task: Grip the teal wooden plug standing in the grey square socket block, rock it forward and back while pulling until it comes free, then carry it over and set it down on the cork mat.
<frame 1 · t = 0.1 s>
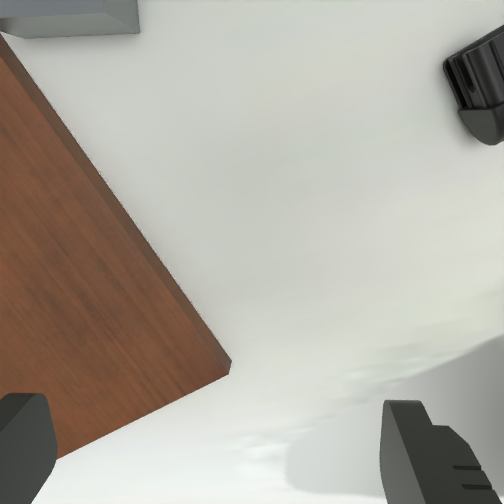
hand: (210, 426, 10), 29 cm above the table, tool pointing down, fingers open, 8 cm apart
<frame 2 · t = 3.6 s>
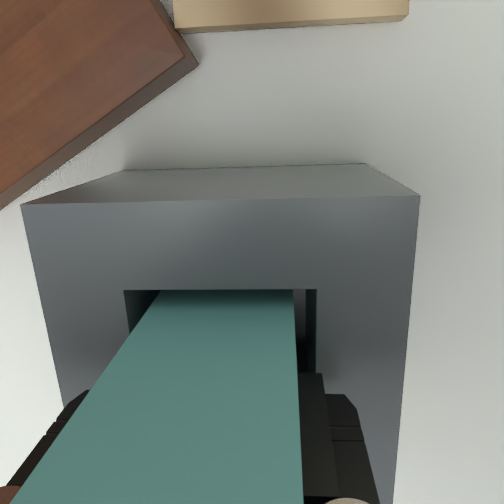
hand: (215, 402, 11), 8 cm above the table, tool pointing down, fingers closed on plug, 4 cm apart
plug: (243, 289, 17), point 1 cm above the table, touching gripper, grey square socket block
grey square socket block: (245, 280, 18), on the table
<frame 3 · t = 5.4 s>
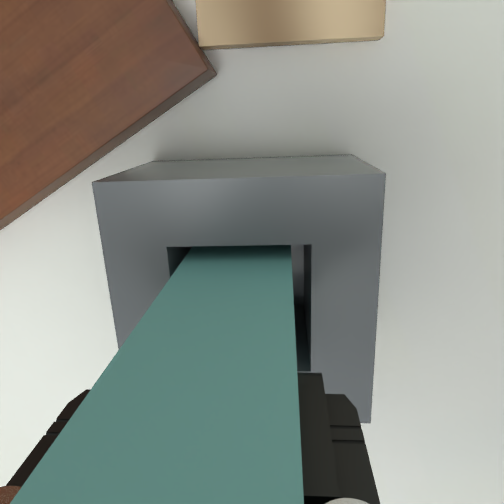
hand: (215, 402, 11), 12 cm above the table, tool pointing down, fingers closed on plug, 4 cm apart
plug: (243, 289, 17), point 5 cm above the table, touching gripper
grey square socket block: (254, 253, 22), on the table
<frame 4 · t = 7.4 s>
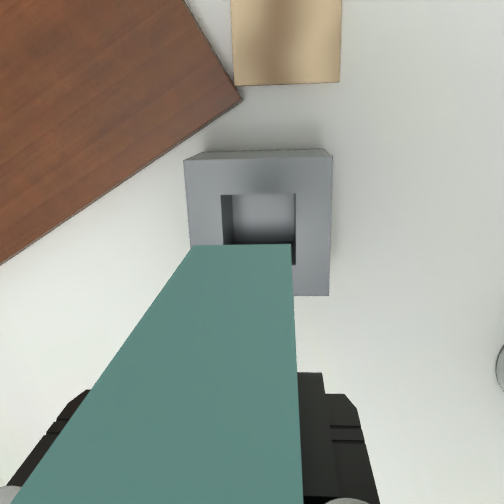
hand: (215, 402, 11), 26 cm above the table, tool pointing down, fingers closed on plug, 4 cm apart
plug: (243, 289, 17), point 19 cm above the table, touching gripper
mat: (285, 27, 31), on the table
grey square socket block: (263, 209, 36), on the table
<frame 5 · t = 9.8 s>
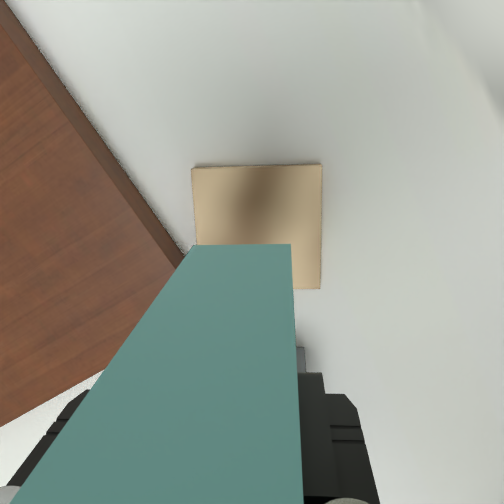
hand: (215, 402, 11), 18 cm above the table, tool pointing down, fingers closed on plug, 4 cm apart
plug: (243, 289, 17), point 10 cm above the table, touching gripper
mat: (258, 227, 27), on the table
when the fingers open (10 cm above the table, at t = 11.6 s): plug drops 1 cm, resting on mat.
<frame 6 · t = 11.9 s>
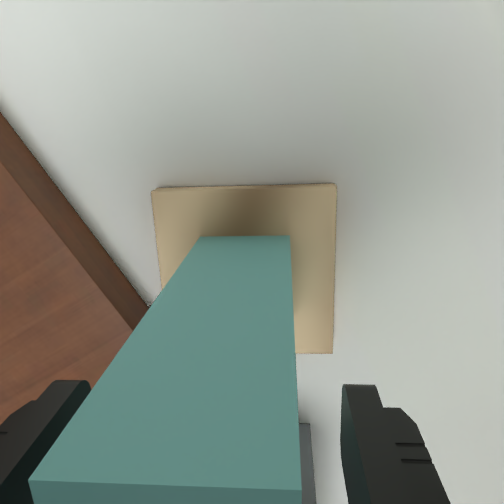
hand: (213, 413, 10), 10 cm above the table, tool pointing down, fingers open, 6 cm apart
plug: (246, 278, 19), point 1 cm above the table, touching mat
mat: (247, 268, 20), on the table
grey square socket block: (223, 491, 24), on the table
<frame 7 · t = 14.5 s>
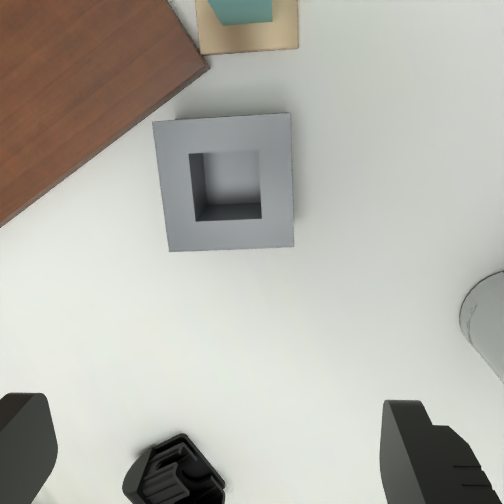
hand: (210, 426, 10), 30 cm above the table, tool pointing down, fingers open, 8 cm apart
end cap: (182, 468, 50), on the table
grey square socket block: (234, 173, 38), on the table
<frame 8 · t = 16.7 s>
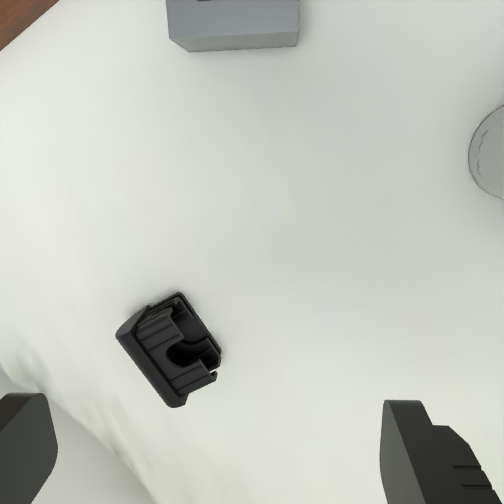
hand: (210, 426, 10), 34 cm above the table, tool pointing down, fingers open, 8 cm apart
end cap: (178, 333, 48), on the table
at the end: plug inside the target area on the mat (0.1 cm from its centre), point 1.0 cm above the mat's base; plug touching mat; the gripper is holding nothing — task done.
